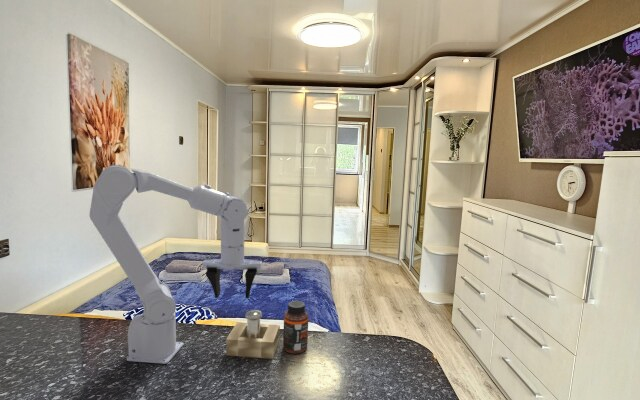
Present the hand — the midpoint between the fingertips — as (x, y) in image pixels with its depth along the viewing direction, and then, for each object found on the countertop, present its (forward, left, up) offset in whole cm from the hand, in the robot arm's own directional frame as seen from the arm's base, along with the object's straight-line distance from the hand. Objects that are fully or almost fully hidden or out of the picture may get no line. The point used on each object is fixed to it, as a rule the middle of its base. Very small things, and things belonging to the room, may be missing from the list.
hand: (232, 296), depth 85 cm
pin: (+7, -6, -10) cm, 14 cm away
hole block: (+7, -5, -10) cm, 13 cm away
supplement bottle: (+17, -4, -11) cm, 20 cm away
